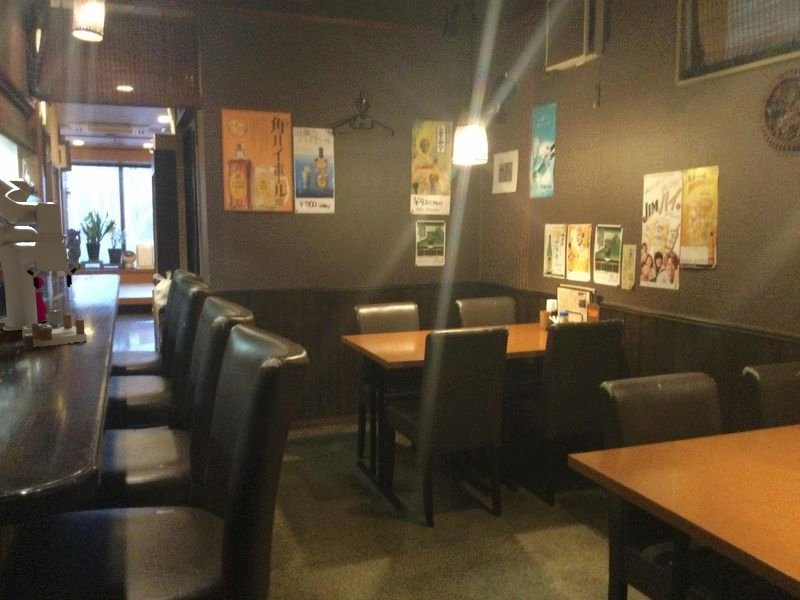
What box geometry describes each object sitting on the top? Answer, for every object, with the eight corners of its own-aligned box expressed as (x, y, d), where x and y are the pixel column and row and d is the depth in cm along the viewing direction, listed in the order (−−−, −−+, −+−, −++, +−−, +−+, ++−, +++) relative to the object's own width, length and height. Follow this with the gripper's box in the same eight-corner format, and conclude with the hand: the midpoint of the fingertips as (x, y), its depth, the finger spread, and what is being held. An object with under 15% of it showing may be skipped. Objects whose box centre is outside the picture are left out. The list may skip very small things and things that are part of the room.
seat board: (16, 338, 215) (15, 317, 214) (75, 333, 225) (73, 313, 224) (25, 350, 192) (23, 327, 191) (90, 344, 203) (88, 322, 202)
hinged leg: (41, 336, 201) (40, 324, 201) (52, 340, 195) (51, 327, 194) (33, 337, 200) (32, 325, 199) (43, 341, 193) (42, 328, 193)
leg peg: (47, 334, 223) (45, 311, 222) (55, 332, 227) (53, 310, 226) (57, 334, 223) (55, 311, 222) (65, 332, 226) (63, 310, 226)
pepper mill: (32, 323, 250) (28, 272, 247) (24, 322, 254) (20, 271, 252) (51, 321, 255) (48, 271, 253) (43, 320, 260) (39, 270, 257)
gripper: (75, 238, 229) (78, 285, 231) (19, 239, 219) (23, 288, 221) (79, 238, 223) (82, 287, 225) (22, 239, 213) (25, 290, 215)
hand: (53, 287), depth 223 cm, fingers open, 9 cm apart
